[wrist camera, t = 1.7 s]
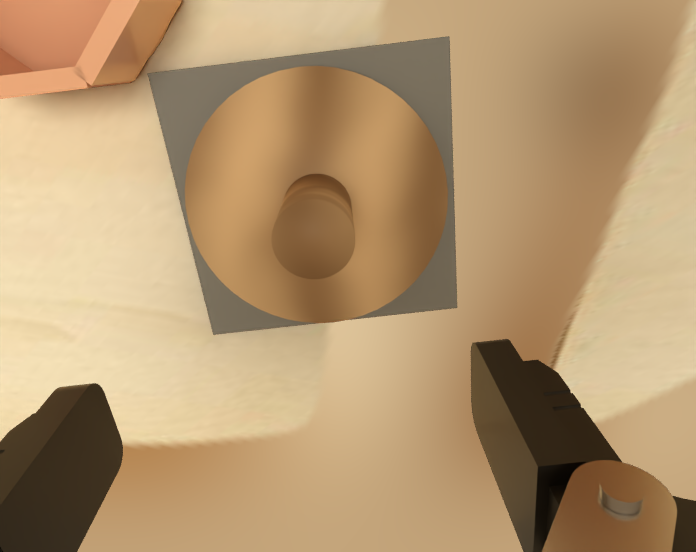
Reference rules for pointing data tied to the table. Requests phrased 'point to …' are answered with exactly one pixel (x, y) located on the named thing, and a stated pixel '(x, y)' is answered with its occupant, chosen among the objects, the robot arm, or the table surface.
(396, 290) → the lid
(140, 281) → the table surface
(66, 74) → the bowl
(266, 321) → the mat
